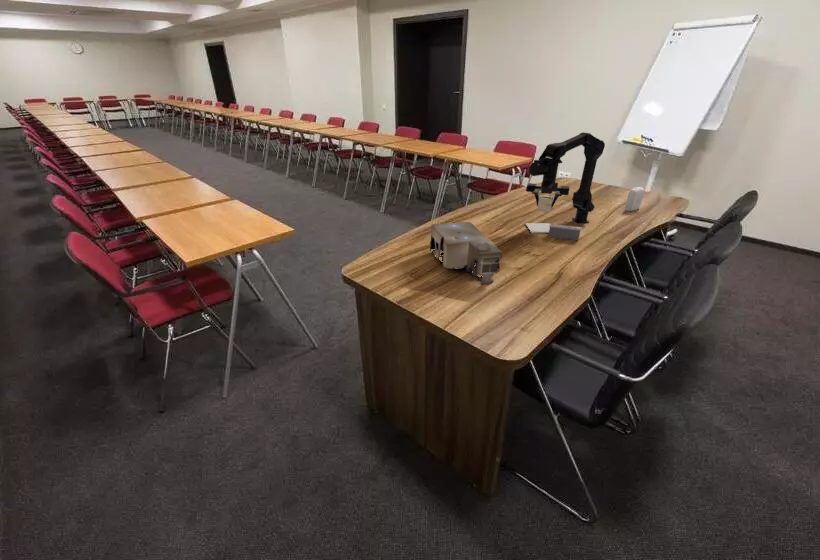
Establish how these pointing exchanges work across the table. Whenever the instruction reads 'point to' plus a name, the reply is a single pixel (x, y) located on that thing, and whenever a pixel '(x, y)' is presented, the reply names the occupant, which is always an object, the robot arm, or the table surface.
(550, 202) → the letter cube
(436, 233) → the projector
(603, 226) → the table surface
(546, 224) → the mat
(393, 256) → the table surface
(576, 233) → the screen
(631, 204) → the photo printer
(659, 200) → the table surface
